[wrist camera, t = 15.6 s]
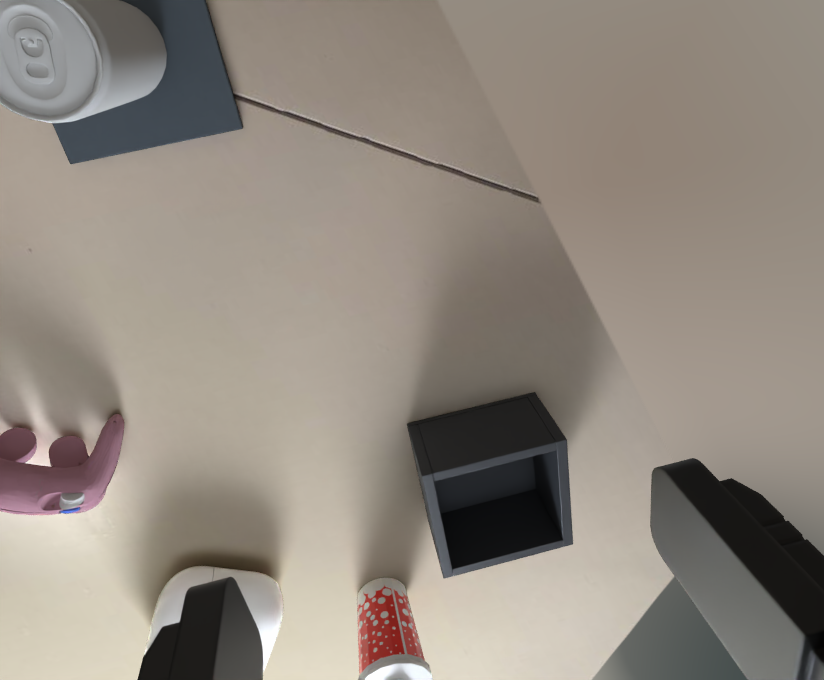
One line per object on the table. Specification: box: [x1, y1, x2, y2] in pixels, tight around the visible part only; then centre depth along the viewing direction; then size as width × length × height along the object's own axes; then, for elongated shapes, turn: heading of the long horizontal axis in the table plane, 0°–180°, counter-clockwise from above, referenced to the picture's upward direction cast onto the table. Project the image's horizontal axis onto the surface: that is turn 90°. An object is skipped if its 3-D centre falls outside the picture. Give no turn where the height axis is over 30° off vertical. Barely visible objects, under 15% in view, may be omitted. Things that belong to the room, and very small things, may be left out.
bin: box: [407, 392, 573, 578], centre depth 46 cm, size 11×11×6 cm
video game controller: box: [0, 414, 124, 515], centre depth 39 cm, size 10×5×7 cm, turn 70°
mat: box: [52, 0, 243, 164], centre depth 32 cm, size 10×10×1 cm
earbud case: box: [144, 566, 284, 671], centre depth 49 cm, size 10×13×5 cm
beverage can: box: [0, 0, 167, 123], centre depth 26 cm, size 5×5×12 cm
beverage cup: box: [357, 578, 433, 680], centre depth 48 cm, size 6×6×14 cm
